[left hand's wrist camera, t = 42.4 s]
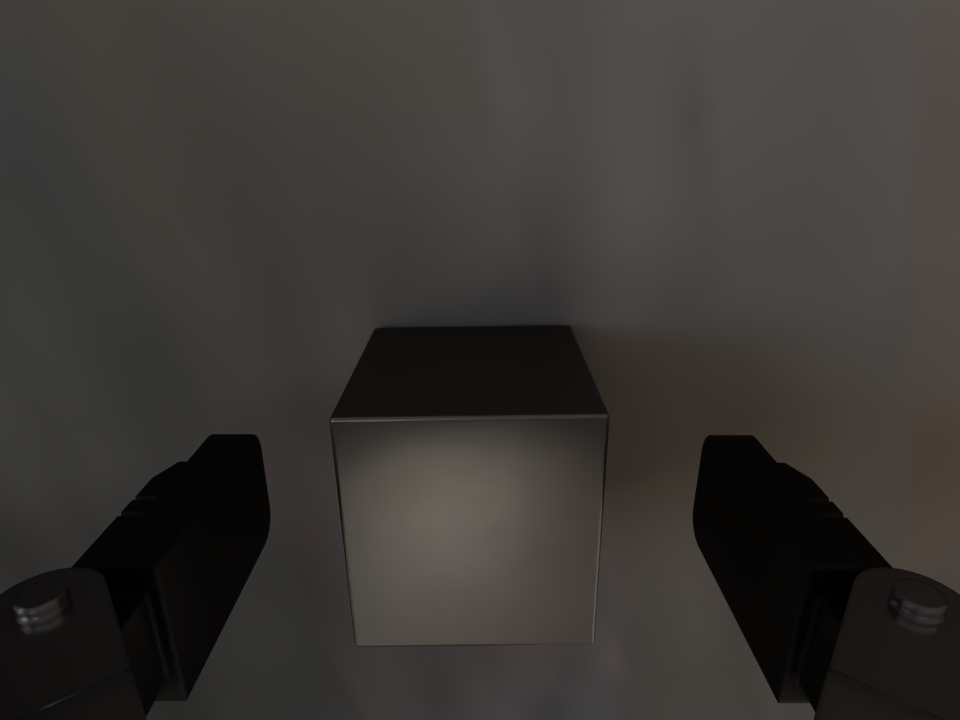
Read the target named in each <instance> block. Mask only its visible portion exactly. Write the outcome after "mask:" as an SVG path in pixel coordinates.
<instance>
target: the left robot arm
mask: <svg viewBox="0 0 960 720" xmlns="http://www.w3.org/2000/svg"><path fill="white" fill-rule="evenodd" d="M269 527H270V505H269V498H268V491H267V484H266V477H265V470H264V463H263V457H262V450H261V445H260V441H259V439H258V437H257V436H256V435H254V434H213V435H210V436H209V437H208V438H207V439H206V440H205V441H204V442H203V444H202V445H201V446H200V447H199V448H198V449H197V451H196V452H195V453H194V454H193V455H192V457H191V458H190V459H189V460H188V461H187V462H178V463H176V464H174V465H173V466H171V467H170V468H168V469H166V470H165V471H163V472H161V473H160V474H158V475H156V476H155V477H153V478H152V479H151V480H150V481H149V482H148V483H147V485H146V486H145V487H144V488H143V489H142V490H141V491H140V492H139V493H138V494H137V496H136V499H135V500H132V501H131V502H130V503H129V504H128V506H127V507H126V508H125V509H124V510H123V511H122V512H121V516H118V517H117V518H116V519H115V520H114V521H113V522H112V523H111V524H110V525H109V526H108V528H107V529H106V530H105V531H104V532H103V533H102V534H101V535H100V536H99V538H98V539H97V540H96V541H95V542H94V543H93V544H92V545H91V546H90V547H89V549H88V550H87V551H86V552H85V553H84V554H83V555H82V556H81V557H80V558H79V560H78V561H77V562H76V563H75V564H74V565H73V566H72V567H71V568H64V569H58V570H53V571H49V572H46V573H43V574H39V575H37V576H34V577H32V578H29V579H27V580H25V581H23V582H20V583H18V584H17V585H15V586H13V587H11V588H10V589H8V590H6V591H5V592H3V593H2V594H1V595H0V720H146V716H147V714H148V712H149V711H150V709H151V707H152V705H153V703H154V702H155V701H187V699H188V697H189V695H190V693H191V691H192V689H193V687H194V685H195V683H196V681H197V679H198V677H199V675H200V673H201V671H202V669H203V667H204V665H205V663H206V661H207V659H208V657H209V655H210V653H211V651H212V649H213V647H214V645H215V643H216V641H217V639H218V637H219V635H220V633H221V631H222V629H223V627H224V625H225V623H226V621H227V619H228V617H229V615H230V613H231V611H232V609H233V607H234V605H235V603H236V601H237V599H238V597H239V595H240V593H241V591H242V589H243V587H244V585H245V583H246V581H247V579H248V577H249V575H250V573H251V571H252V569H253V567H254V565H255V563H256V561H257V559H258V557H259V555H260V553H261V551H262V550H263V548H264V546H265V543H266V541H267V537H268V533H269ZM693 527H694V533H695V538H696V541H697V544H698V546H699V548H700V550H701V552H702V554H703V556H704V558H705V560H706V562H707V564H708V566H709V568H710V570H711V572H712V574H713V576H714V578H715V580H716V582H717V584H718V586H719V587H720V589H721V591H722V593H723V595H724V597H725V599H726V601H727V603H728V605H729V607H730V609H731V611H732V613H733V615H734V617H735V619H736V621H737V623H738V625H739V627H740V629H741V631H742V633H743V635H744V637H745V639H746V641H747V643H748V645H749V646H750V648H751V650H752V652H753V654H754V656H755V658H756V660H757V662H758V664H759V666H760V668H761V670H762V672H763V674H764V676H765V678H766V680H767V682H768V684H769V686H770V688H771V690H772V692H773V694H774V696H775V698H776V700H777V702H778V703H810V704H811V705H812V707H813V709H814V711H815V712H816V713H815V716H814V720H960V595H959V594H958V593H957V592H955V591H954V590H952V589H950V588H949V587H947V586H945V585H943V584H942V583H940V582H937V581H935V580H933V579H931V578H928V577H926V576H923V575H921V574H917V573H914V572H911V571H907V570H902V569H896V568H892V567H891V565H890V564H889V563H888V562H887V561H886V560H885V559H884V558H883V557H882V556H881V554H880V553H879V552H878V551H877V550H876V549H875V548H874V547H873V546H872V545H871V544H870V542H869V541H868V540H867V539H866V538H865V537H864V536H863V535H862V534H861V533H860V532H859V530H858V529H857V528H856V527H855V526H854V525H853V524H852V523H851V522H850V521H849V520H848V518H844V517H843V513H842V512H841V511H840V510H839V509H838V507H837V506H836V505H835V504H834V503H833V502H829V498H828V497H827V495H826V494H825V493H824V492H823V491H822V490H821V489H820V488H819V487H818V486H817V485H816V483H815V482H814V481H813V480H812V479H811V478H809V477H807V476H806V475H804V474H802V473H801V472H799V471H797V470H796V469H794V468H792V467H791V466H789V465H788V464H786V463H777V462H776V461H775V460H774V459H773V458H772V456H771V455H770V454H769V453H768V452H767V451H766V449H765V448H764V447H763V446H762V445H761V444H760V442H759V441H758V440H757V439H756V438H755V437H754V436H751V435H710V436H708V437H706V439H705V441H704V443H703V447H702V453H701V460H700V467H699V473H698V480H697V487H696V494H695V500H694V507H693Z"/></svg>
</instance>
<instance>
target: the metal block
mask: <svg viewBox="0 0 960 720" xmlns="http://www.w3.org/2000/svg"><path fill="white" fill-rule="evenodd" d="M330 429H331V438H332V446H333V455H334V464H335V473H336V482H337V490H338V499H339V508H340V517H341V526H342V534H343V543H344V552H345V561H346V570H347V579H348V587H349V596H350V605H351V614H352V623H353V631H354V640H355V645H356V646H358V647H382V646H466V645H549V644H592V643H593V642H594V636H595V621H596V606H597V592H598V577H599V563H600V548H601V533H602V519H603V504H604V489H605V475H606V460H607V446H608V431H609V414H608V412H607V410H606V408H605V405H604V403H603V401H602V398H601V396H600V394H599V392H598V389H597V387H596V385H595V382H594V380H593V378H592V376H591V373H590V371H589V369H588V366H587V364H586V362H585V360H584V357H583V355H582V353H581V350H580V348H579V346H578V344H577V341H576V339H575V337H574V334H573V332H572V330H571V328H570V326H514V327H442V328H376V329H374V331H373V333H372V335H371V337H370V339H369V341H368V343H367V345H366V347H365V349H364V351H363V353H362V355H361V357H360V359H359V361H358V363H357V365H356V367H355V369H354V371H353V373H352V375H351V378H350V380H349V382H348V384H347V386H346V388H345V390H344V392H343V394H342V396H341V398H340V400H339V402H338V404H337V406H336V408H335V410H334V412H333V414H332V416H331V418H330Z"/></svg>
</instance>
